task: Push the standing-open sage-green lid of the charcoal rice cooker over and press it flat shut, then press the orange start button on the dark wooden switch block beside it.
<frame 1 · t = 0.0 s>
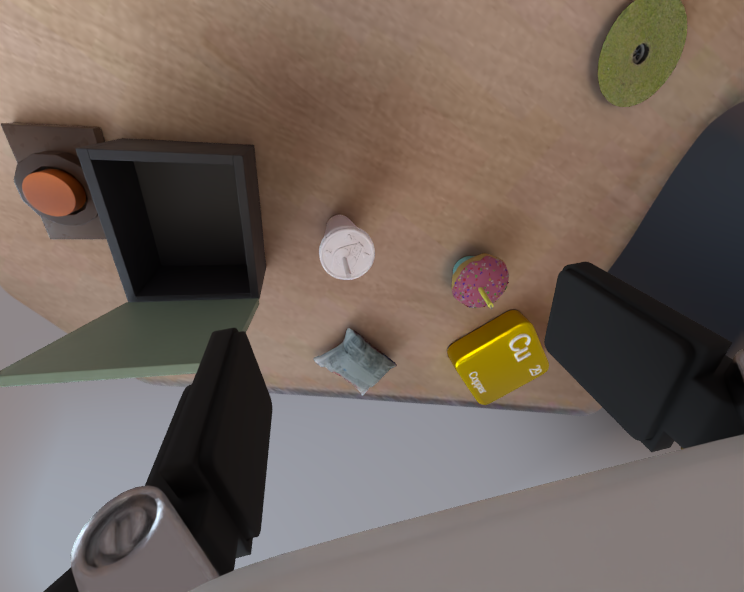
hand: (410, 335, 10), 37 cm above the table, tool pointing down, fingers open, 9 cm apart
cooker lid: (166, 329, 30), point 17 cm above the table, hinge at 75.0°
cupcake: (466, 268, 53), on the table
switch block: (78, 184, 38), on the table
cooker: (203, 210, 42), on the table
start button: (55, 192, 34), point 4 cm above the table, slide at 0.1 cm
mat: (627, 55, 42), on the table
smoothie: (339, 227, 46), on the table
element tile: (492, 351, 64), on the table
packaged food: (354, 354, 58), on the table
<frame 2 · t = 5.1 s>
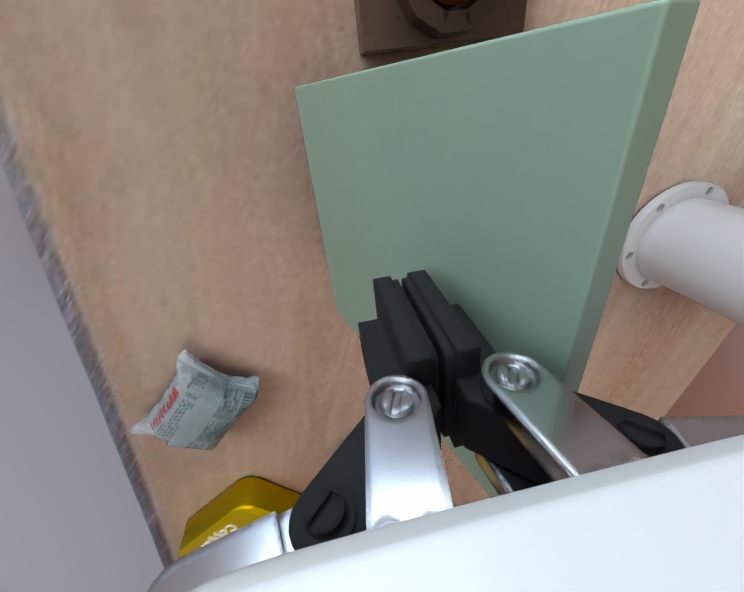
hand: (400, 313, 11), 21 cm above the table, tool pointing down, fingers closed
cooker lid: (391, 262, 14), point 17 cm above the table, hinge at 73.0°, touching gripper
element tile: (255, 512, 51), on the table
packaged food: (201, 388, 38), on the table
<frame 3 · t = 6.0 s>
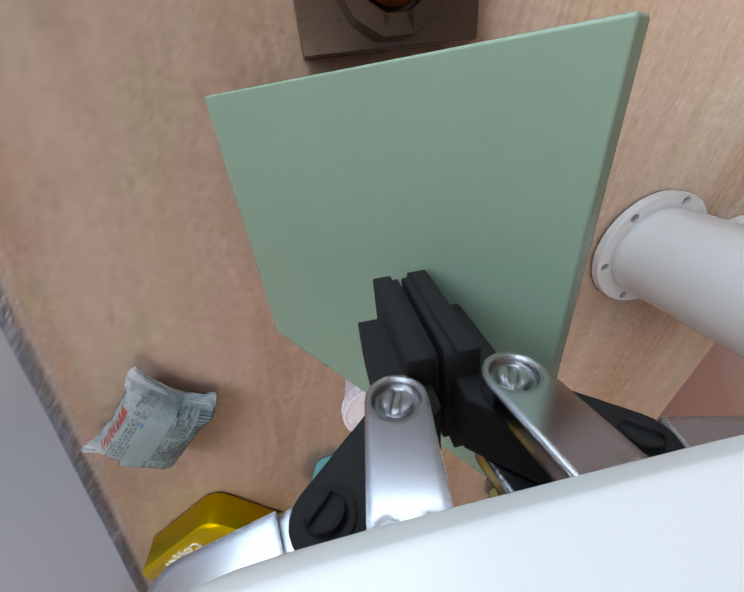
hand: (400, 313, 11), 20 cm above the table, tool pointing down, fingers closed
cooker lid: (349, 270, 14), point 16 cm above the table, hinge at 54.7°, touching gripper
smoothie: (362, 342, 37), on the table
element tile: (226, 527, 50), on the table
packaged food: (158, 404, 36), on the table
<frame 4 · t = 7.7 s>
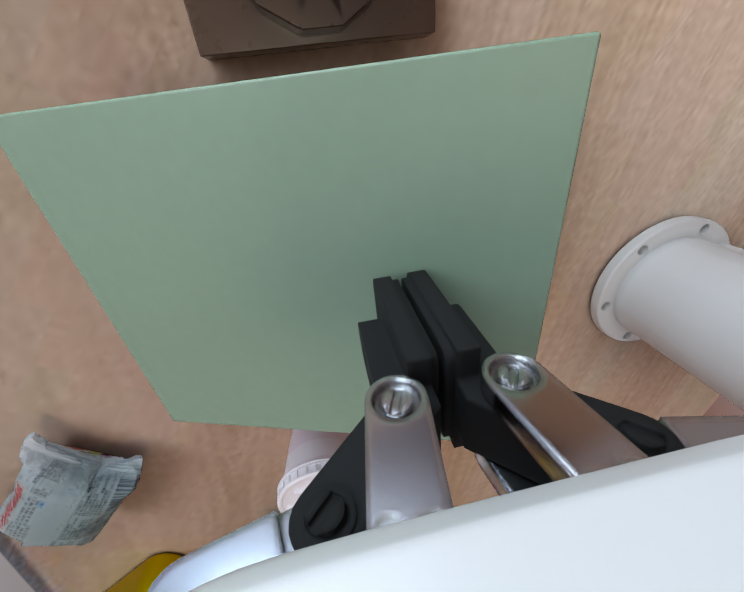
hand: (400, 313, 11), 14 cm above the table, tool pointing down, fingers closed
cooker lid: (299, 303, 12), point 12 cm above the table, hinge at 18.8°, touching gripper
smoothie: (319, 392, 31), on the table
element tile: (179, 585, 44), on the table
packaged food: (78, 466, 31), on the table
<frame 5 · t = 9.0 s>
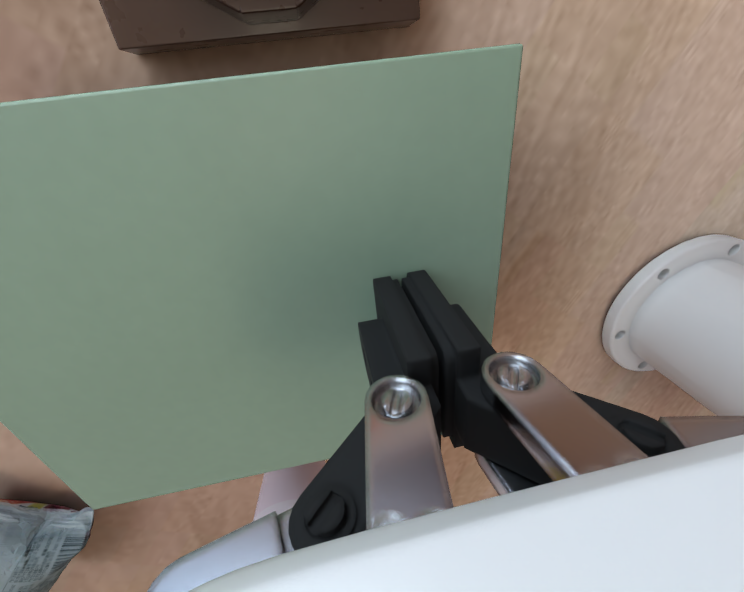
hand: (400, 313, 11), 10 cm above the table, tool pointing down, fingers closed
cooker lid: (251, 332, 11), point 9 cm above the table, hinge at 0.9°
smoothie: (296, 432, 28), on the table
packaged food: (24, 517, 27), on the table
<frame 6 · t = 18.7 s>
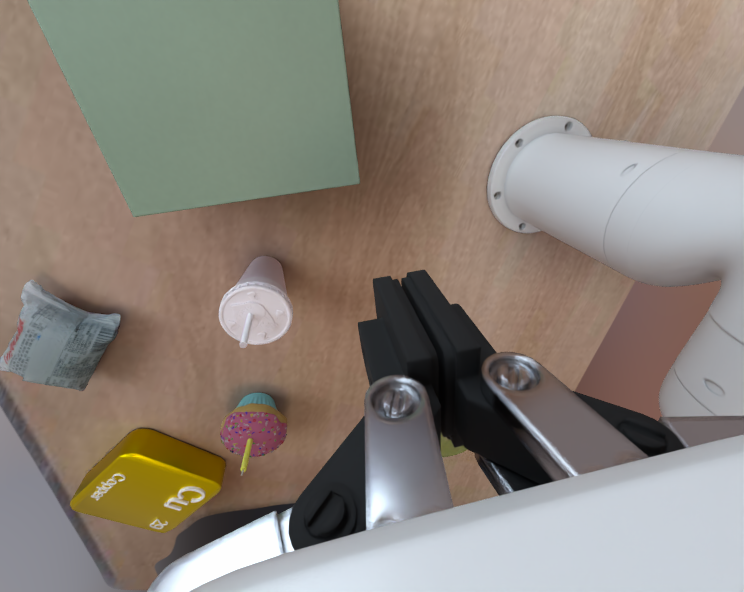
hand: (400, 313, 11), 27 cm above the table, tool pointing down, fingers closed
cooker lid: (219, 91, 21), point 9 cm above the table, hinge at 0.6°
cupcake: (258, 403, 48), on the table
mat: (448, 426, 59), on the table
smoothie: (266, 270, 38), on the table
element tile: (159, 468, 51), on the table
packaged food: (69, 328, 38), on the table
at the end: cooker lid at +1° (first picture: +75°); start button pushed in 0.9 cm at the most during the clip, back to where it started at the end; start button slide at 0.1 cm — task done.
